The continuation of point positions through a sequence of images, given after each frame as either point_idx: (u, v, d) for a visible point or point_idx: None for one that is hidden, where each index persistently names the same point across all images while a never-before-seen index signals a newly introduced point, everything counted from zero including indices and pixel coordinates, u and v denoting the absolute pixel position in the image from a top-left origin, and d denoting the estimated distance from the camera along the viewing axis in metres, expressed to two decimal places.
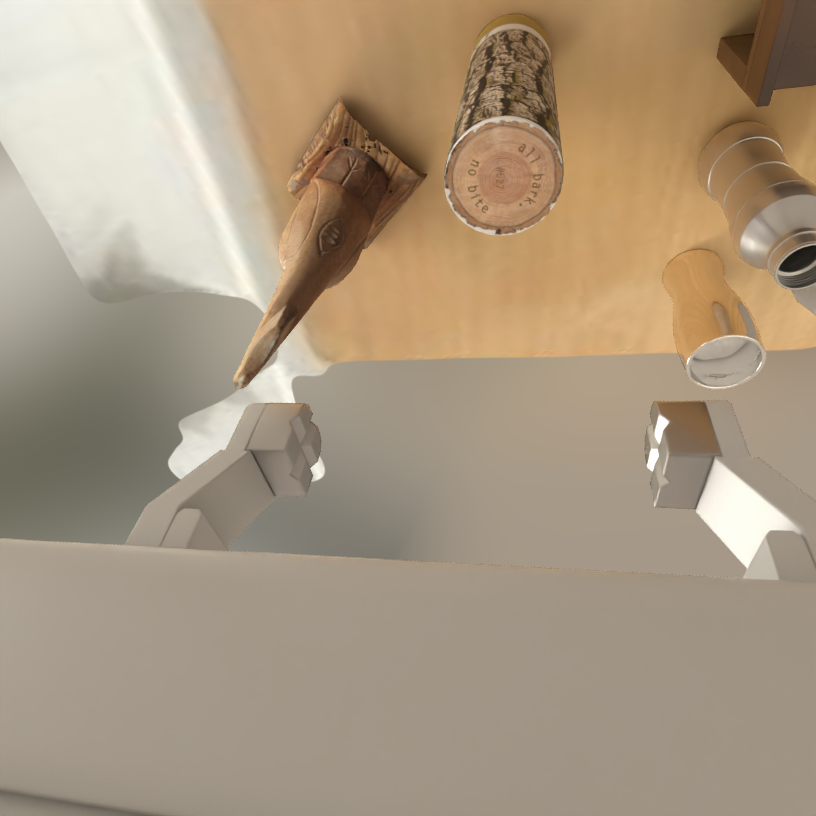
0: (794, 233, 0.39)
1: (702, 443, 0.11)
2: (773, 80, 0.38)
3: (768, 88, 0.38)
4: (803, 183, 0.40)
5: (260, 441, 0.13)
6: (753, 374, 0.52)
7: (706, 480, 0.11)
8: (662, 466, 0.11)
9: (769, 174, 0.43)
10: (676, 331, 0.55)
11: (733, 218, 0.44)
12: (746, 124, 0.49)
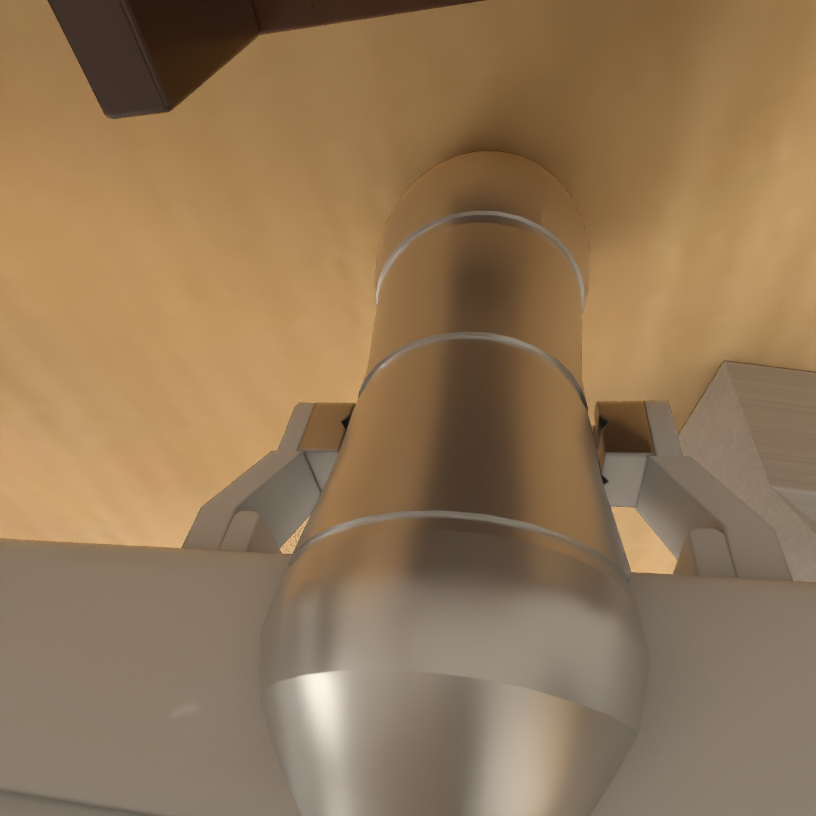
0: None
1: (638, 443, 0.11)
2: None
3: None
4: (476, 558, 0.07)
5: (312, 441, 0.13)
6: None
7: (643, 479, 0.12)
8: (601, 465, 0.12)
9: (411, 417, 0.10)
10: None
11: None
12: (467, 163, 0.15)
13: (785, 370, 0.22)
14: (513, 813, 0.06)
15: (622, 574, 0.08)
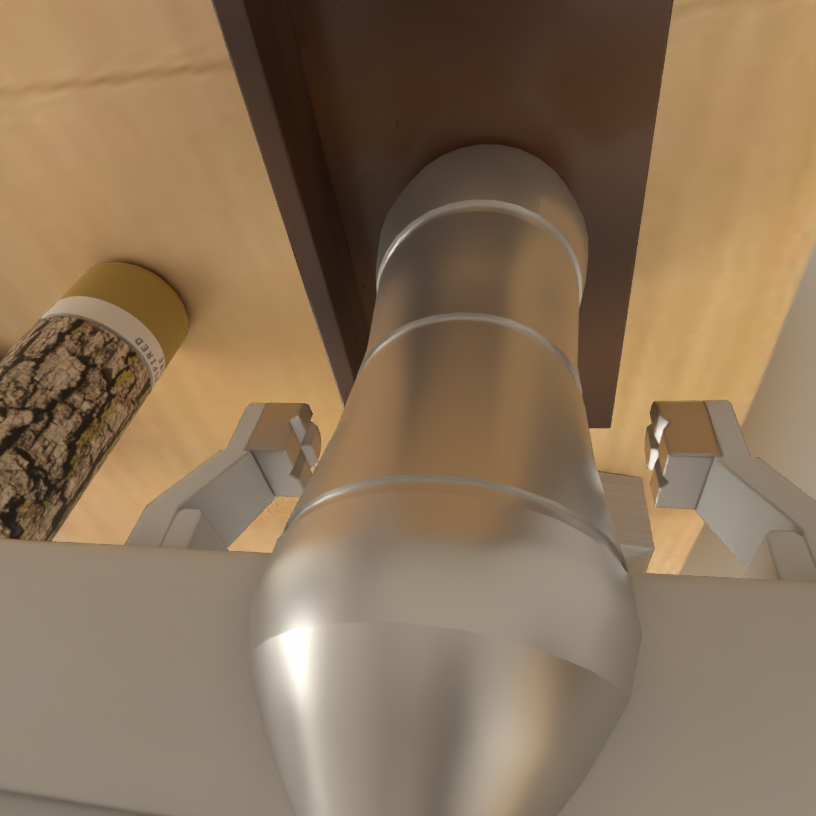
0: None
1: (702, 443, 0.11)
2: None
3: None
4: (463, 518, 0.07)
5: (260, 441, 0.13)
6: None
7: (706, 480, 0.11)
8: (662, 466, 0.11)
9: (405, 391, 0.10)
10: None
11: None
12: (467, 155, 0.16)
13: (622, 476, 0.41)
14: (494, 762, 0.06)
15: (609, 543, 0.08)
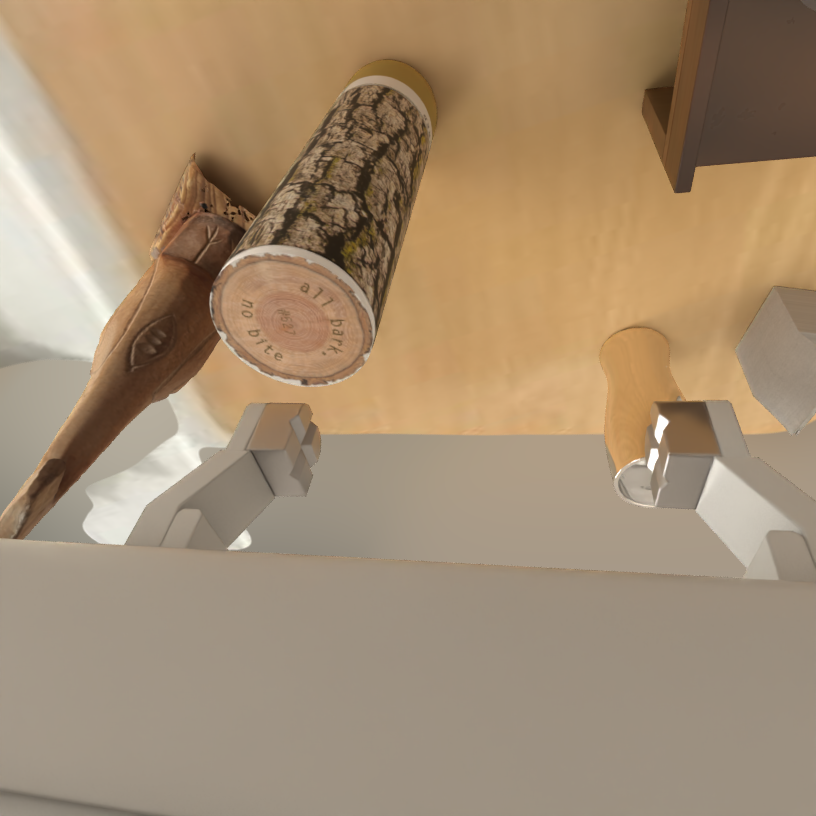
0: None
1: (702, 443, 0.11)
2: (693, 162, 0.29)
3: (687, 171, 0.29)
4: None
5: (259, 441, 0.13)
6: None
7: (706, 480, 0.11)
8: (662, 466, 0.11)
9: None
10: (605, 434, 0.45)
11: None
12: None
13: (803, 290, 0.45)
14: None
15: None
